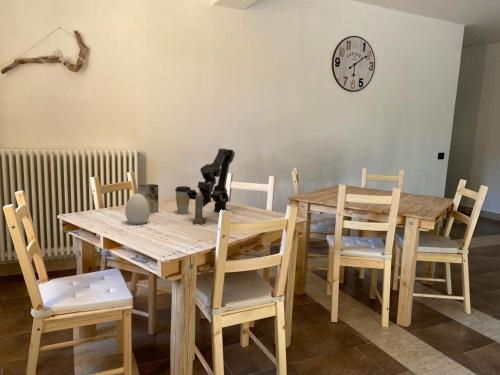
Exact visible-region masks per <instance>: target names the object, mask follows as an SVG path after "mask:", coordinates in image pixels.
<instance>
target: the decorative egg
mask: <svg viewBox="0 0 500 375" xmlns="http://www.w3.org/2000/svg"><path fill="white" fill-rule="evenodd" d="M124 214H125V219H126V220H127V221H128V223H129V224H132V225H142V224H145V223H147V221H148V220H149V219H150V216H151V213H150V206H149V203H148V201H147V199H146V198H145V197H144V196H143V195H141V194H139V193H135V194H133V195H132V196H130V197H129V199H128V200H127V203H126V205H125V211H124Z"/></svg>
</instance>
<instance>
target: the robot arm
mask: <svg viewBox="0 0 500 375" xmlns="http://www.w3.org/2000/svg"><path fill="white" fill-rule="evenodd" d="M235 156H236V154H235V151H234V150H233V149H230V148H229V149H227V148H218V152H217V154H216V157H215V158H214V160H213V162H212V163H210V164H209V163H206V164H205V165H203V166H202V167H200V173H201V176H202V179H204V181H198V183H197V189H198V191H197V190H196V189H191V190H188V191H187V194H188V196H189V198H190V200H194V201H195V199H196V196H197V194H201V195H203V208H204V207H205V206H207V205H208V204H209V203H212V202H214V209H213V210H214V211H213V212H216V211H220V210H221V209H222V210H227V203H230V202H229V201H230V200H229V199H230V197H229V195H228V190H227V187H226V185H227V181H228V176H229V175H228V174H229V169H230V164H231V163H232V162H234V161H233V160H234V158H235ZM216 178H218V182H217V179H216ZM215 184H217V185H215Z"/></svg>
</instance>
